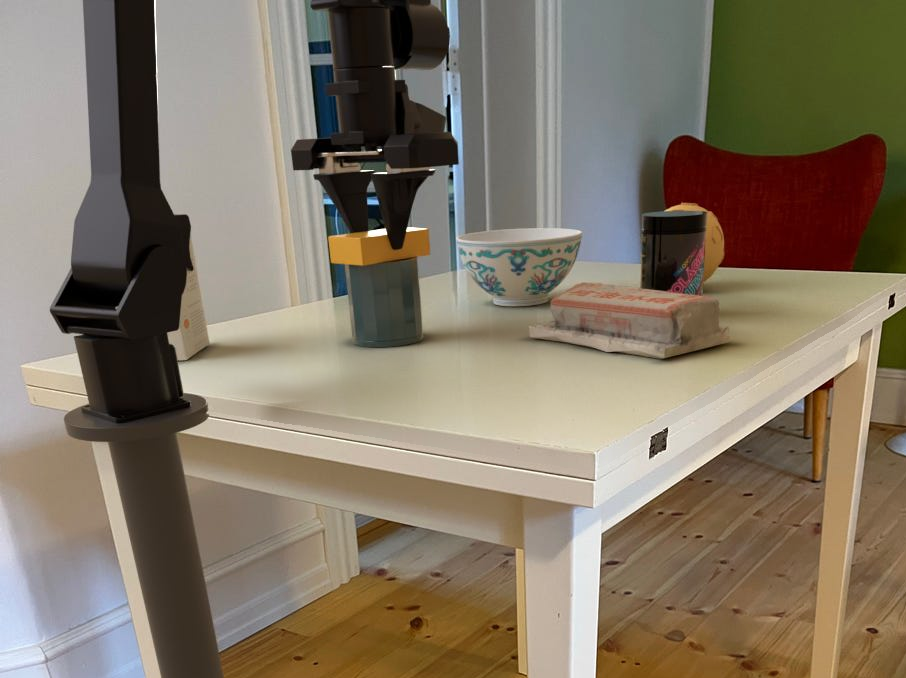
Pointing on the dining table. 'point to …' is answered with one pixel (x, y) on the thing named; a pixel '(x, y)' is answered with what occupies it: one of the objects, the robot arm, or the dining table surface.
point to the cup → (385, 303)
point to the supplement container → (673, 251)
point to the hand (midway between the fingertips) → (380, 248)
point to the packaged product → (633, 320)
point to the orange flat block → (377, 247)
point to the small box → (190, 318)
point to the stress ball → (708, 239)
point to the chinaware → (519, 262)
